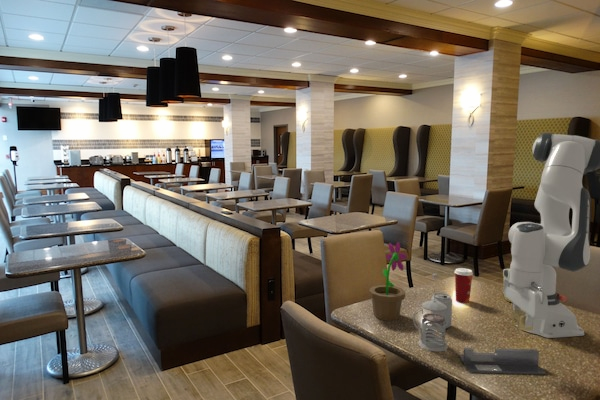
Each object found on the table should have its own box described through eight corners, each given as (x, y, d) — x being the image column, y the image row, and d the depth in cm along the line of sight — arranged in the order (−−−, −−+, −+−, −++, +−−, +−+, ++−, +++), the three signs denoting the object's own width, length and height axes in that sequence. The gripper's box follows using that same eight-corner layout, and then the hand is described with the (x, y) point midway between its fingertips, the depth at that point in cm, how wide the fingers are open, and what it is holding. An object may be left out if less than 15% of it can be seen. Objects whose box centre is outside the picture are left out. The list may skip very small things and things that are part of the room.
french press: (450, 352, 136) (453, 278, 133) (414, 349, 138) (416, 276, 135) (445, 339, 145) (448, 270, 143) (411, 336, 147) (413, 268, 145)
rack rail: (528, 357, 132) (529, 342, 132) (545, 374, 122) (546, 358, 122) (458, 356, 133) (459, 341, 133) (469, 372, 123) (470, 356, 123)
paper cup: (474, 304, 179) (476, 272, 177) (456, 304, 179) (458, 272, 177) (467, 297, 187) (469, 267, 185) (450, 297, 187) (451, 267, 185)
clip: (525, 324, 128) (526, 310, 128) (532, 330, 123) (533, 316, 123) (511, 323, 128) (512, 309, 128) (518, 330, 124) (519, 315, 123)
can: (452, 330, 153) (453, 299, 151) (431, 328, 154) (432, 297, 153) (449, 322, 160) (450, 292, 159) (429, 320, 161) (430, 291, 160)
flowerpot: (412, 318, 164) (414, 244, 160) (382, 325, 158) (384, 248, 154) (389, 306, 176) (391, 237, 173) (361, 312, 170) (362, 240, 167)
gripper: (556, 289, 114) (552, 337, 115) (520, 268, 134) (517, 310, 135) (532, 288, 114) (529, 336, 115) (500, 268, 134) (498, 309, 136)
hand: (522, 322), depth 126 cm, fingers closed on clip, 5 cm apart
